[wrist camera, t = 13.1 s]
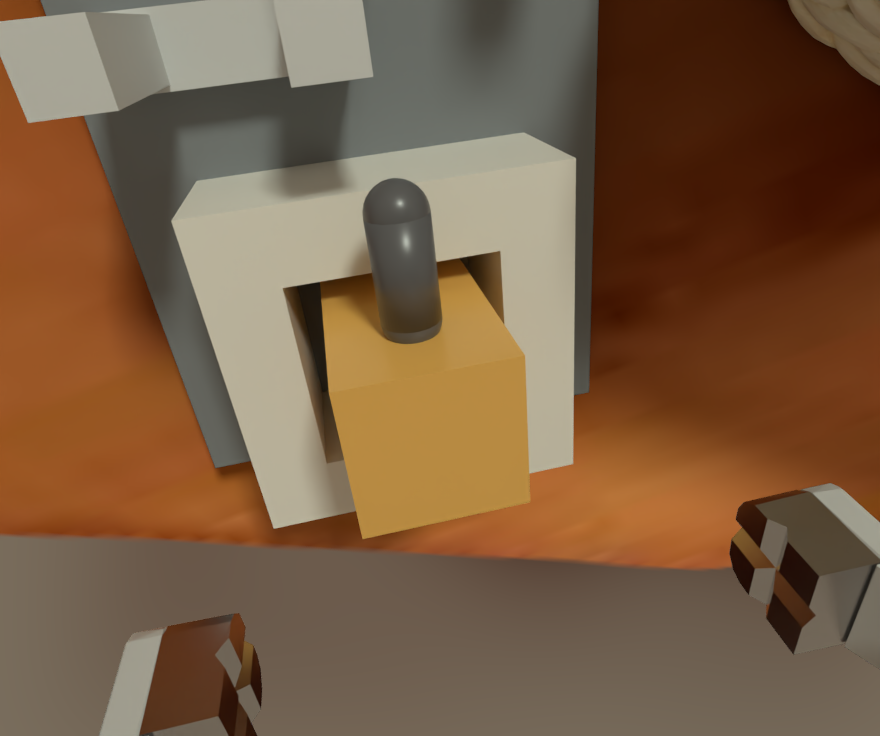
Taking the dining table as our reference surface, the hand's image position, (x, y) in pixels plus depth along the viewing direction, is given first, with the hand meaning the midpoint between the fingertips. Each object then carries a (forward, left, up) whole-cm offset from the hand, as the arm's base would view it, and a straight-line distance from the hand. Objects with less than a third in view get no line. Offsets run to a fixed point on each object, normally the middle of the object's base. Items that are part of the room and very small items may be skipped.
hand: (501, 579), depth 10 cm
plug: (0, -1, -12) cm, 12 cm away
